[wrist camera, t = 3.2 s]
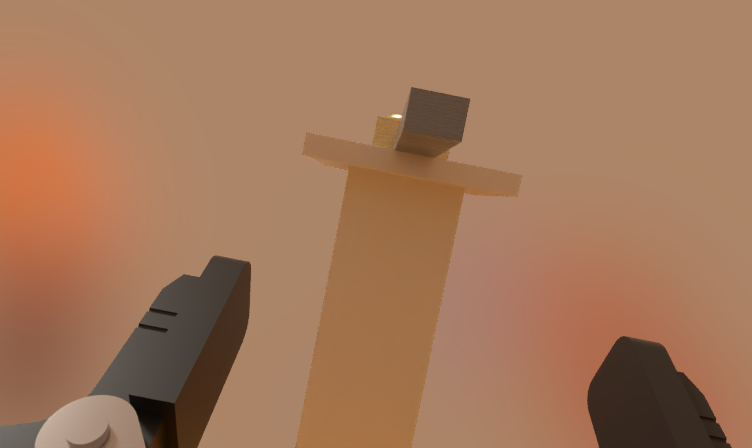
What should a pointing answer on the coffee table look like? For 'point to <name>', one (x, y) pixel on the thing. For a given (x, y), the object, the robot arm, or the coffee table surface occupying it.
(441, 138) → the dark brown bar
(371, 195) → the white pillar
